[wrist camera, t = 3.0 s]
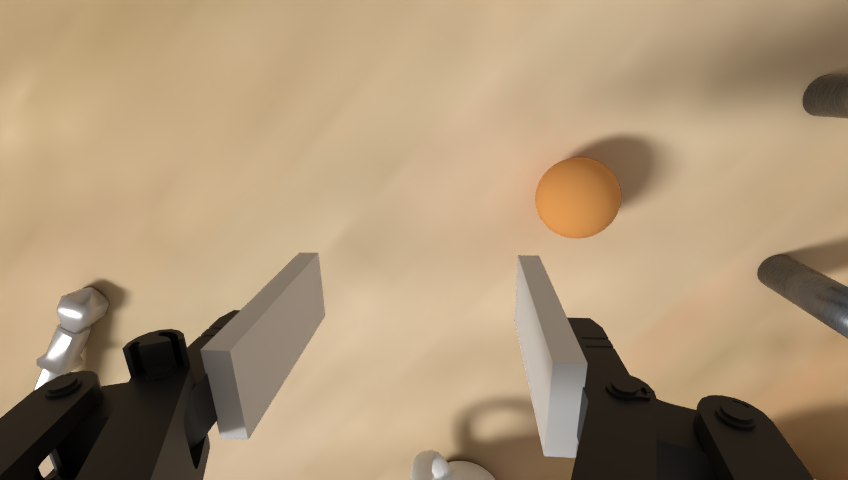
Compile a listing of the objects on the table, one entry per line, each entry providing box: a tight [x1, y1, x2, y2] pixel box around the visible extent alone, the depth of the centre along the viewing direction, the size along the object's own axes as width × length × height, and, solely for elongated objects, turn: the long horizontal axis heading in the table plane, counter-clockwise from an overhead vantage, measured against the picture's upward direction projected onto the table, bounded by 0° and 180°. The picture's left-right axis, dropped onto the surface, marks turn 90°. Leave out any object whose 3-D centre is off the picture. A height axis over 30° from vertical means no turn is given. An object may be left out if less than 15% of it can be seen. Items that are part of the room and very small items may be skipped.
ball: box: [535, 157, 621, 238], centre depth 29 cm, size 6×6×6 cm
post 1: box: [757, 255, 848, 338], centre depth 28 cm, size 3×3×9 cm
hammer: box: [33, 287, 109, 391], centre depth 40 cm, size 5×16×40 cm
